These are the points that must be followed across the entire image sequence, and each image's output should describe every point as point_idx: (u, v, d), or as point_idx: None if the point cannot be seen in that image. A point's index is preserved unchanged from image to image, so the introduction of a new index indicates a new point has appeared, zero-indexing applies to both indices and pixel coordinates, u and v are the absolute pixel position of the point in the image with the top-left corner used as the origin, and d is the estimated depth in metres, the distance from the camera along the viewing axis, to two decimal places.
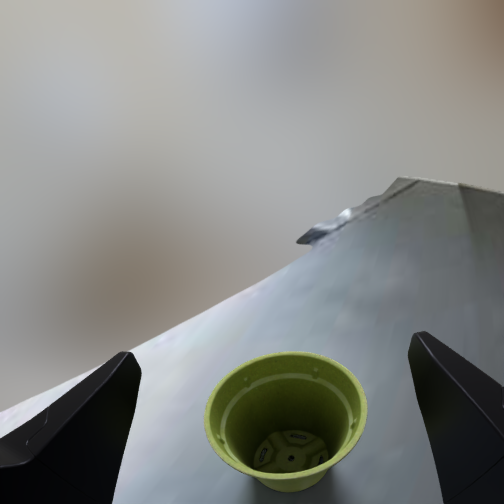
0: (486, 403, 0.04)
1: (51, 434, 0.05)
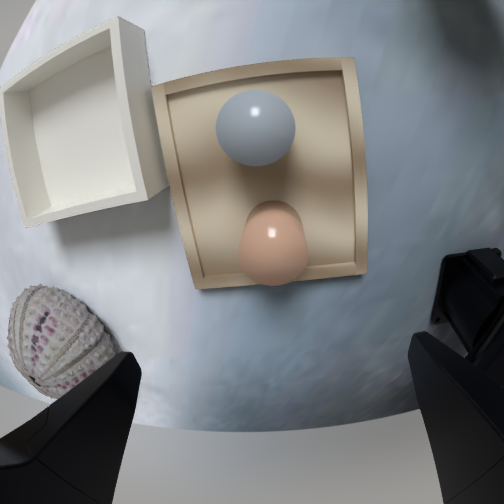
0: (486, 404, 0.04)
1: (51, 434, 0.05)
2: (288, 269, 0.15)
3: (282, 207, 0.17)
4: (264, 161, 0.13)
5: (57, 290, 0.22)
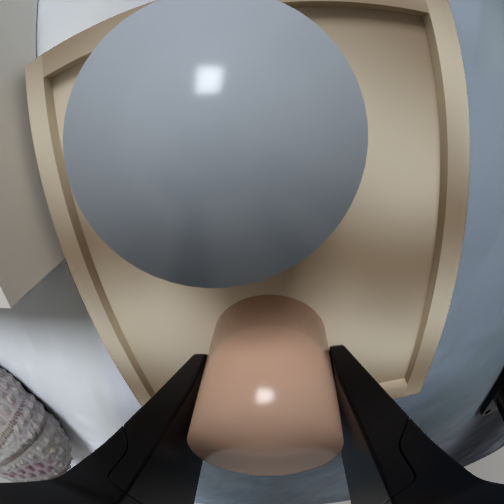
0: (383, 435, 0.04)
1: (139, 461, 0.04)
2: (297, 463, 0.06)
3: (289, 323, 0.07)
4: (237, 273, 0.04)
5: None
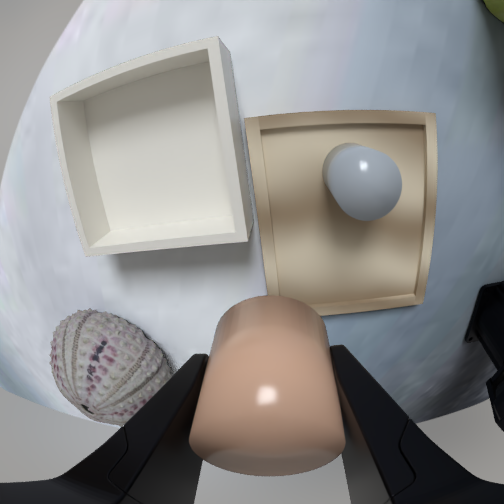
0: (383, 436, 0.04)
1: (139, 461, 0.04)
2: (298, 463, 0.06)
3: (291, 324, 0.07)
4: (373, 216, 0.14)
5: (111, 316, 0.23)
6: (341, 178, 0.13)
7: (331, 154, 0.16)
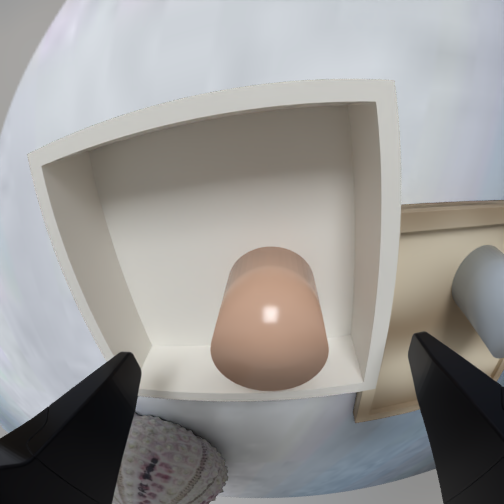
0: (486, 403, 0.04)
1: (51, 434, 0.05)
2: (294, 372, 0.09)
3: (286, 263, 0.10)
4: None
5: (155, 424, 0.17)
6: None
7: (475, 268, 0.10)
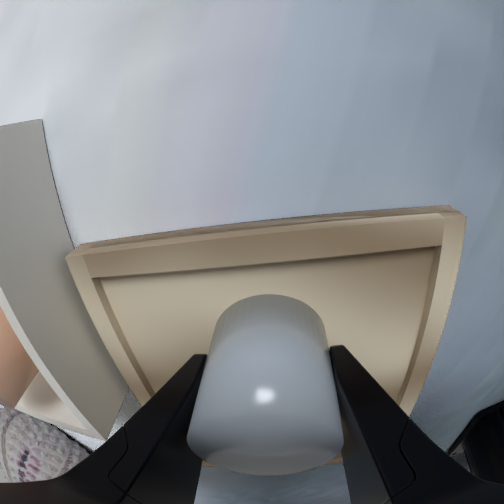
0: (383, 436, 0.04)
1: (139, 461, 0.04)
2: (1, 395, 0.07)
3: None
4: (278, 473, 0.06)
5: (32, 422, 0.15)
6: (201, 442, 0.06)
7: (217, 333, 0.08)
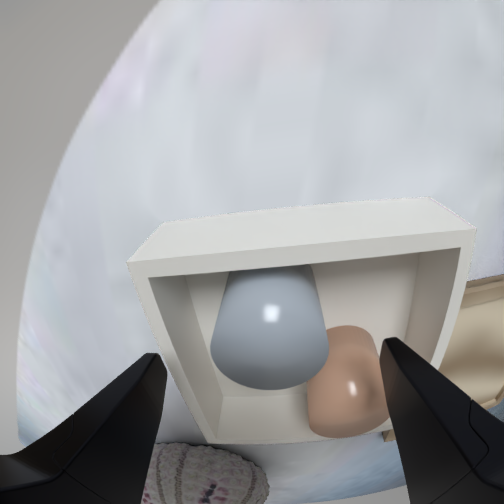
0: (452, 417, 0.04)
1: (79, 444, 0.05)
2: (366, 425, 0.10)
3: (361, 343, 0.12)
4: (280, 386, 0.09)
5: (211, 453, 0.18)
6: (221, 347, 0.08)
7: (232, 273, 0.11)
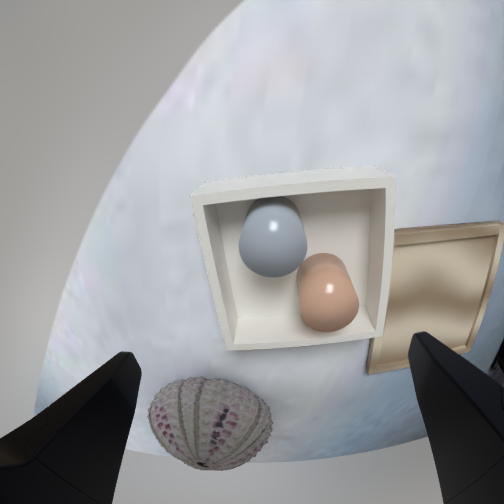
0: (486, 403, 0.04)
1: (51, 434, 0.05)
2: (341, 319, 0.17)
3: (334, 262, 0.19)
4: (279, 274, 0.16)
5: (224, 383, 0.25)
6: (245, 242, 0.15)
7: (249, 210, 0.18)
